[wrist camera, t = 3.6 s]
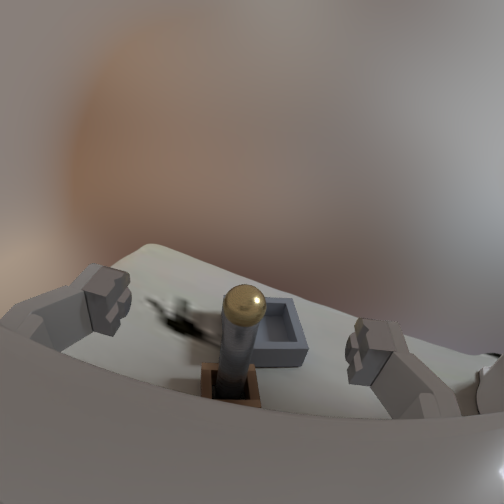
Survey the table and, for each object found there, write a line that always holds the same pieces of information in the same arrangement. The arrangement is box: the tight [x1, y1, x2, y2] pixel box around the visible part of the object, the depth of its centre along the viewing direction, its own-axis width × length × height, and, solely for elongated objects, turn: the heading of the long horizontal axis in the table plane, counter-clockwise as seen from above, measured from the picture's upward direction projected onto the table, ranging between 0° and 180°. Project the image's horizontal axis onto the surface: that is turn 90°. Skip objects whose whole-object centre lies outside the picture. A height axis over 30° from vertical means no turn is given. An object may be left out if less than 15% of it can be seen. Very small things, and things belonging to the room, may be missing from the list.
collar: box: [201, 363, 261, 408], centre depth 32 cm, size 6×6×3 cm
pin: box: [214, 284, 266, 400], centre depth 29 cm, size 4×4×16 cm
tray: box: [222, 295, 309, 367], centre depth 41 cm, size 10×10×4 cm
